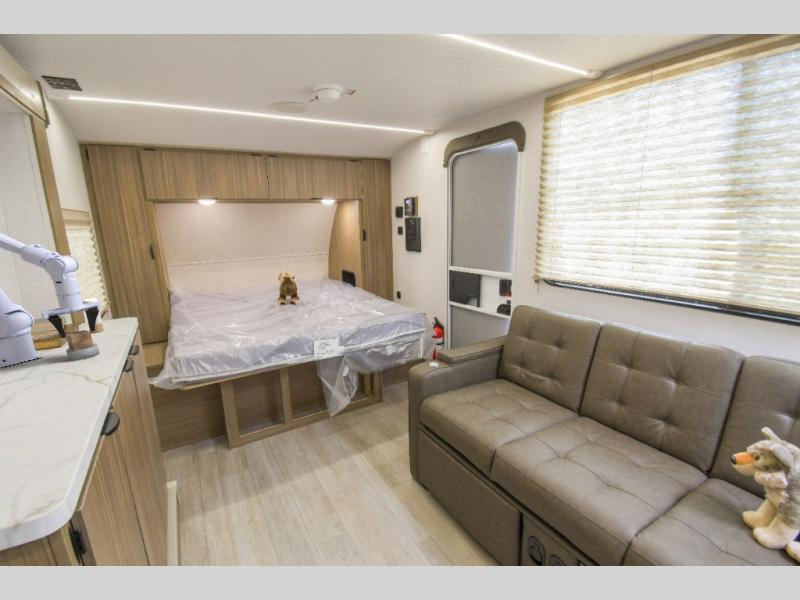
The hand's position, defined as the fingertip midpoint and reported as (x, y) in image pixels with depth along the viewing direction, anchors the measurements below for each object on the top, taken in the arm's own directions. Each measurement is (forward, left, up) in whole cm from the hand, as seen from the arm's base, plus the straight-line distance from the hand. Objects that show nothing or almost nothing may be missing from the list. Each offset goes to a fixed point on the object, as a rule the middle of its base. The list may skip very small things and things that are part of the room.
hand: (78, 333), depth 120 cm
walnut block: (0, 0, -5) cm, 5 cm away
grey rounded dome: (0, 0, -8) cm, 8 cm away
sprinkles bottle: (+13, +29, -8) cm, 33 cm away
